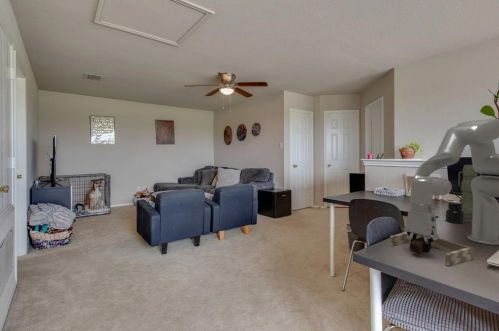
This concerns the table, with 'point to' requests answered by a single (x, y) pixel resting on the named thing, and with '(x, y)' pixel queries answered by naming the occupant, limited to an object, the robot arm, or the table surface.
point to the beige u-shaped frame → (455, 250)
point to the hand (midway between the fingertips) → (420, 249)
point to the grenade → (467, 189)
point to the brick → (417, 245)
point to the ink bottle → (455, 213)
